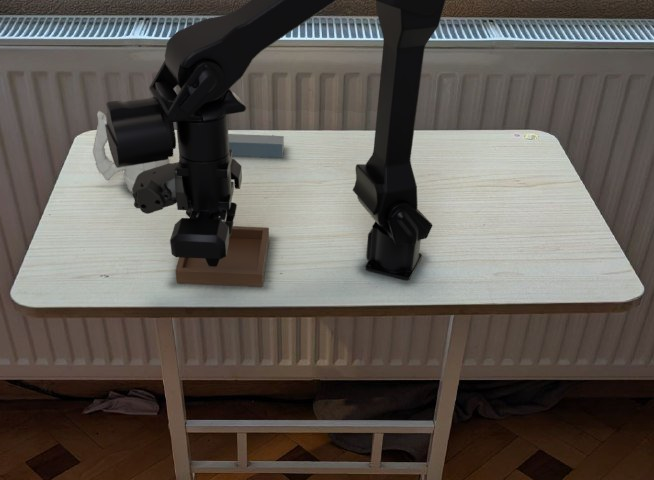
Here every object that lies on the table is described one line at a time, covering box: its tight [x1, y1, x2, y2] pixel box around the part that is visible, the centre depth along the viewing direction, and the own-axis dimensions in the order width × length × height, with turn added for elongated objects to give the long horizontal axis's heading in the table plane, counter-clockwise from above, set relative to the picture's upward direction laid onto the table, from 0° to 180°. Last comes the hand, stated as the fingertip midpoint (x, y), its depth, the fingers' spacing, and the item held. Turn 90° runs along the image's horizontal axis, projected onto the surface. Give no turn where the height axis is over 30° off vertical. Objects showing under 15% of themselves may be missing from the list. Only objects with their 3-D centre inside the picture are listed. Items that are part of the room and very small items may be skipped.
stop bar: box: [228, 133, 285, 159], centre depth 139 cm, size 3×12×2 cm, turn 88°
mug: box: [92, 110, 170, 193], centre depth 127 cm, size 8×12×12 cm, turn 96°
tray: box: [175, 225, 270, 288], centre depth 116 cm, size 12×12×2 cm
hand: (213, 265), depth 105 cm, fingers closed
